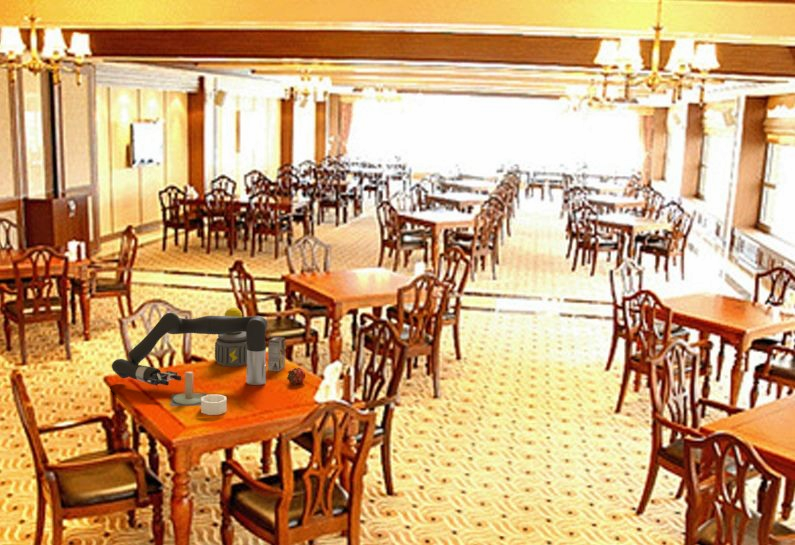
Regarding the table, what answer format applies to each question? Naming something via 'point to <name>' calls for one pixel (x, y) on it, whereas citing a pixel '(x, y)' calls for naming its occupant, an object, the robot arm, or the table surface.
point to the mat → (181, 404)
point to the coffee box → (276, 353)
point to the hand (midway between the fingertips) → (174, 380)
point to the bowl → (213, 404)
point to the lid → (188, 392)
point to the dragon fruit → (296, 376)
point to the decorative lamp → (231, 345)
